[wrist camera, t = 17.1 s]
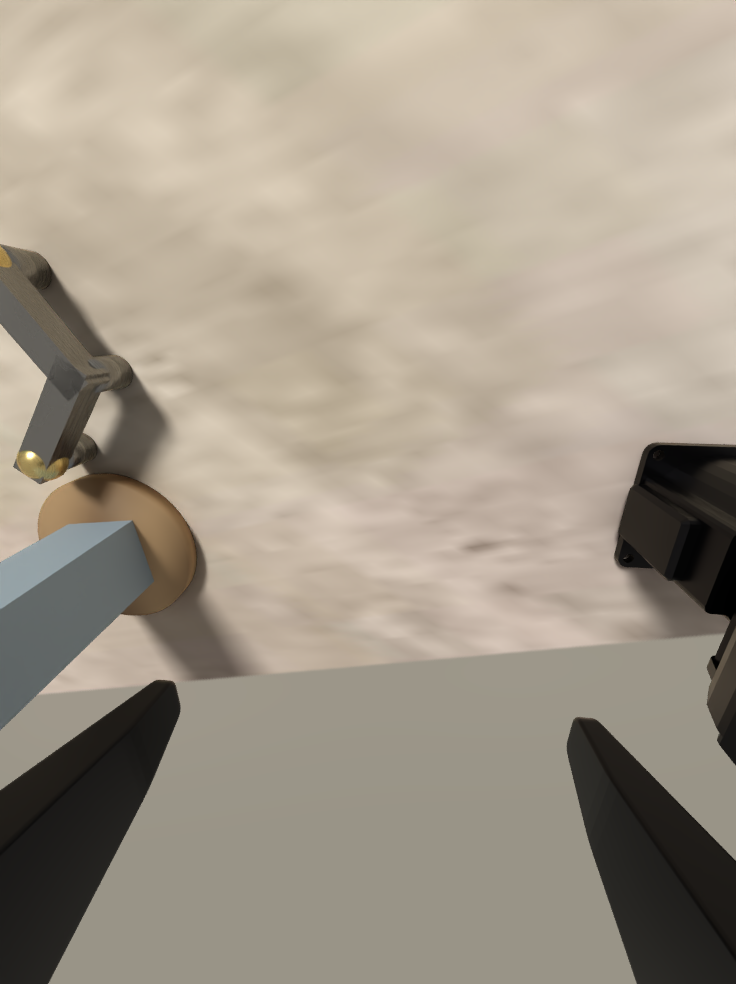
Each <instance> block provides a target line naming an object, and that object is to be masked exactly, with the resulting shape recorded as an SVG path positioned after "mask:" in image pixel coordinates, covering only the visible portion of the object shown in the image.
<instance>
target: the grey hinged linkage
mask: <svg viewBox="0 0 736 984" xmlns="http://www.w3.org/2000/svg"><path fill="white" fill-rule="evenodd" d="M50 282H51V270H50V267H49V265H48V263H47V262H46V260H45V259H44V258H43V257H42V256H41V255H40V254H38V253H36V252H34V251H29V250H24V249H20V248H15V247H11V246H6V245H1V244H0V324H1V325H2V326H3V327H4V328H5V330H6V331H7V332H8V333H9V334H10V335H11V336H12V338H13V339H14V340H15V341H16V342H17V343H18V344H19V346H20V347H21V348H22V349H23V350H24V351H25V352H26V354H27V355H28V356H29V357H30V358H31V359H32V361H33V362H34V363H35V364H36V365H37V366H38V367H39V369H40V370H41V371H42V372H43V373H44V374H45V375H46V377H47V380H46V383H45V385H44V388H43V391H42V393H41V396H40V398H39V401H38V404H37V406H36V409H35V411H34V414H33V417H32V419H31V422H30V424H29V427H28V430H27V432H26V435H25V437H24V440H23V442H22V445H21V448H20V450H19V452H18V454H17V458H16V461H15V463H14V466H13V467H14V468H16V469H17V470H19V471H20V472H22V473H23V474H25V475H26V476H28V477H30V478H31V479H33V480H34V481H36V482H37V483H39V484H42V483H44V482H47V481H49V480H53V479H56V478H58V477H60V476H62V475H64V473H65V472H66V470H67V469H70V468H73V467H75V466H78V465H80V464H83V463H85V462H88V461H90V460H92V459H94V458H95V456H96V454H97V448H96V445H95V443H94V441H93V440H92V439H91V438H90V437H89V436H88V435H86V434H84V433H83V430H84V428H85V426H86V424H87V422H88V419H89V417H90V415H91V413H92V411H93V408H94V406H95V404H96V402H97V399H98V397H99V395H100V393H101V392H104V391H110V390H115V389H120V388H125V387H127V386H128V385H129V384H130V383H131V381H132V377H133V375H132V370H131V367H130V365H129V364H128V363H127V361H126V360H124V359H123V358H122V357H120V356H117V355H106V356H93V357H92V356H91V355H90V354H89V353H88V351H87V350H86V349H85V348H84V347H83V345H82V344H81V343H80V342H79V340H78V339H77V338H76V337H75V336H74V334H73V333H72V332H71V331H70V330H69V328H68V327H67V326H66V325H65V323H64V322H63V321H62V320H61V319H60V317H59V316H58V315H57V314H56V313H55V311H54V310H53V309H52V308H51V307H50V305H49V304H48V303H47V302H46V300H45V299H44V298H43V297H42V296H41V294H40V293H39V292H38V291H37V290H42V289H45V288H47V287H48V286H49V284H50ZM36 289H37V290H36Z"/></svg>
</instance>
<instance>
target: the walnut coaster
mask: <svg viewBox="0 0 736 984" xmlns="http://www.w3.org/2000/svg"><path fill="white" fill-rule="evenodd" d="M129 520H132V521H133V523H134V526H135V529H136V532H137V534H138V537H139V540H140V543H141V546H142V548H143V551H144V554H145V557H146V559H147V562H148V565H149V568H150V571H151V573H152V576H153V579H154V582H153V583H152V584H151V585H150V586H149V587H148V588H147V589H146V590H145V591H144V592H143V593H142V594H141V595H139V596H138V597H137V598H136V599H135V600H134V601H133V602H132V603H131V604H130V605H129V606H128V607H127V608H126V609H125V610H124V611H123V612H122V613H121V614H124V615H148V614H152V613H156V612H158V611H161V610H163V609H165V608H167V607H168V606H170V605H171V604H172V603H173V602H175V601H176V599H177V598H178V597H179V596H180V595H181V594H182V593H183V591H184V590H185V589H186V588H187V587H188V586H189V584H190V582H191V581H192V579H193V576H194V573H195V569H196V563H197V554H196V547H195V543H194V539H193V536H192V534H191V531H190V529H189V527H188V525H187V524H186V522H185V520H184V519H183V517H182V516H181V514H180V513H179V512H178V511H177V510H176V508H175V507H174V506H173V505H172V504H171V503H170V502H169V501H168V500H167V499H166V498H165V497H163V496H162V495H161V494H159V493H158V492H157V491H155V490H154V489H152V488H150V487H149V486H147V485H145V484H143V483H141V482H139V481H137V480H134V479H131V478H129V477H125V476H121V475H117V474H107V473H102V474H92V475H87V476H84V477H81V478H78V479H76V480H74V481H71V482H69V483H67V484H65V485H63V486H61V487H59V488H57V489H56V490H55V491H54V492H52V493H51V494H50V495H49V497H48V498H47V499H46V500H45V502H44V504H43V505H42V508H41V511H40V513H39V519H38V535H39V540H41V539H43V538H45V537H46V536H48V535H50V534H52V533H54V532H55V531H57V530H59V529H61V528H62V527H64V526H66V525H68V524H80V523H96V522H113V521H129Z"/></svg>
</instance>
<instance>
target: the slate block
mask: <svg viewBox="0 0 736 984" xmlns="http://www.w3.org/2000/svg"><path fill="white" fill-rule="evenodd" d="M153 582H154V579H153V576H152V573H151V571H150V568H149V565H148V562H147V559H146V557H145V554H144V551H143V548H142V546H141V543H140V540H139V537H138V534H137V532H136V529H135V526H134V523H133V521H132V520H129V521H113V522H96V523H80V524H68V525H66V526H64V527H62V528H61V529H59V530H57V531H55V532H54V533H52V534H50V535H48V536H46V537H45V538H43V539H41V540H39V541H37V542H36V543H34V544H32V545H30V546H29V547H27V548H25V549H23V550H21V551H20V552H18V553H16V554H14V555H12V556H11V557H9V558H7V559H5V560H3V561H2V562H0V730H1V729H2V728H3V727H4V726H5V725H6V724H7V723H8V722H9V721H10V720H11V719H12V718H13V717H15V716H16V715H17V714H18V713H19V712H20V711H21V710H22V709H23V708H24V707H25V706H26V705H27V704H28V703H29V702H30V701H31V700H32V699H33V698H34V697H35V696H36V695H37V694H38V693H39V692H40V691H41V690H42V689H43V688H45V687H46V686H47V685H48V684H49V683H50V682H51V681H52V680H53V679H54V678H55V677H56V676H57V675H58V674H59V673H60V672H61V671H62V670H63V669H64V668H65V667H66V666H67V665H68V664H69V663H70V662H71V661H72V660H73V659H74V658H75V657H77V656H78V655H79V654H80V653H81V652H82V651H83V650H84V649H85V648H86V647H87V646H88V645H89V644H90V643H91V642H92V641H93V640H94V639H95V638H96V637H97V636H98V635H99V634H100V633H101V632H102V631H103V630H104V629H105V628H106V627H107V626H109V625H110V624H111V623H112V622H113V621H114V620H115V619H116V618H117V617H118V616H119V615H120V614H121V613H122V612H123V611H124V610H125V609H126V608H127V607H128V606H129V605H130V604H131V603H132V602H133V601H134V600H135V599H136V598H137V597H138V596H139V595H141V594H142V593H143V592H144V591H145V590H146V589H147V588H148V587H149V586H150V585H151V584H152V583H153Z"/></svg>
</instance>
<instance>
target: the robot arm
mask: <svg viewBox="0 0 736 984" xmlns="http://www.w3.org/2000/svg"><path fill="white" fill-rule="evenodd" d="M658 450H660V454H659V456H657V457H656V458H653V454H654V453H655V452H656V451H658ZM618 532H619V534H620V537H619V541H618V544H617V548H616V551H615V559H616V560H617V562H618V563H619V564H620V565H622V566H624V567H636V568H654V569H656V570H657V571H658V572H659V573H660V574H661V575H662V576H663V577H664V578H665V579H666V580H668V581H674V582H675V583H676V584H677V585H678V586H679V587H680V588H681V589H682V590H683V591H685V592H686V593H687V594H688V595H689V596H690V597H691V598H692V599H693V600H694V601H695V602H696V603H697V604H698V605H699V606H700V607H701V608H703V609H704V610H705V611H706V612H707V613H709V614H719V615H723V616H724V617H725V618H727V619H728V620H729V621H730V623H729V626H728V628H727V630H726V633H725V635H724V637H723V640H722V642H721V644H720V646H719V649H718V651H717V654H716V656H712V657H711V658H710V661H709V663H708V665H707V670H708V672H709V675H710V678H711V680H712V681H711V684H710V686H709V691H708V700H707V705H708V708H709V711H710V713H711V716H712V718H713V720H714V723H715V725H716V728H717V729H718V731H719V733H720V734H719V736H718V739H717V741H718V743H719V745H720V746H721V748H722V749H723V750H724V751H725V753H726V754H727V755H728V756H729V757H730V759H731V760H732V761H733V763H734V764H735V765H736V445H721V444H688V443H652V444H650V445H648V446H647V447H646V448H645V449H644V451H643V454H642V457H641V461H640V465H639V468H638V472H637V476H636V479H635V483H634V485H633V486H632V487H631V488H630V491H629V494H628V498H627V502H626V505H625V509H624V513H623V516H622V520H621V524H620V527H619V531H618ZM628 554H630V556H629V557H628V558H626V559H623V558H624V557H625V556H626V555H628ZM179 714H180V701H179V697H178V693H177V689H176V685H175V683H174V682H173V681H167V680H156V681H154V682H152V683H150V684H149V685H148V686H146V687H145V688H144V689H142V690H141V691H139V692H138V693H137V694H135V695H134V696H133V697H131V698H129V699H128V700H127V701H125V702H124V703H122V704H121V705H120V706H118V707H117V708H115V709H114V710H113V711H111V712H110V713H108V714H107V715H106V716H104V717H103V718H101V719H100V720H98V721H97V722H96V723H94V724H93V725H91V726H90V727H89V728H87V729H86V730H84V731H83V732H82V733H80V734H79V735H77V736H76V737H75V738H73V739H72V740H70V741H69V742H67V743H66V744H65V745H63V746H62V747H60V748H59V749H58V750H56V751H55V752H53V753H52V754H51V755H49V756H48V757H46V758H45V759H44V760H42V761H41V762H39V763H38V764H37V765H35V766H34V767H32V768H31V769H30V770H28V771H27V772H25V773H24V774H22V775H21V776H20V777H18V778H17V779H15V780H14V781H13V782H11V783H10V784H8V785H7V786H6V787H5V788H3V789H1V790H0V984H48V983H49V981H50V979H51V977H52V975H53V973H54V971H55V970H56V968H57V965H58V963H59V962H60V960H61V958H62V956H63V954H64V952H65V950H66V948H67V946H68V944H69V942H70V941H71V939H72V937H73V935H74V933H75V931H76V929H77V927H78V925H79V923H80V921H81V919H82V917H83V915H84V913H85V912H86V909H87V908H88V906H89V904H90V902H91V900H92V898H93V896H94V894H95V892H96V890H97V888H98V887H99V885H100V883H101V881H102V879H103V877H104V875H105V873H106V871H107V869H108V867H109V865H110V863H111V861H112V859H113V858H114V856H115V854H116V852H117V850H118V848H119V846H120V844H121V842H122V840H123V838H124V836H125V834H126V832H127V831H128V829H129V827H130V825H131V823H132V821H133V819H134V817H135V815H136V813H137V811H138V809H139V807H140V805H141V803H142V802H143V800H144V798H145V795H146V793H147V791H148V789H149V787H150V785H151V782H152V780H153V778H154V776H155V773H156V771H157V769H158V766H159V764H160V761H161V759H162V756H163V754H164V751H165V749H166V747H167V744H168V742H169V739H170V737H171V735H172V732H173V730H174V727H175V725H176V722H177V720H178V717H179ZM567 754H568V758H569V763H570V766H571V771H572V775H573V779H574V783H575V787H576V791H577V795H578V799H579V804H580V808H581V812H582V816H583V820H584V825H585V828H586V832H587V836H588V840H589V843H590V846H591V849H592V852H593V856H594V859H595V862H596V865H597V867H598V870H599V873H600V876H601V879H602V882H603V885H604V888H605V891H606V894H607V897H608V900H609V903H610V905H611V909H612V912H613V915H614V918H615V920H616V923H617V926H618V929H619V932H620V935H621V938H622V941H623V944H624V947H625V950H626V953H627V956H628V959H629V962H630V965H631V968H632V971H633V974H634V977H635V980H636V982H637V984H736V861H735V860H734V859H733V858H732V857H731V856H730V855H729V854H728V853H727V852H726V850H724V849H723V848H722V846H720V845H719V843H718V842H716V840H715V839H714V838H713V837H712V836H711V835H710V834H709V833H708V832H707V831H706V830H705V829H704V828H703V827H702V826H701V825H700V824H699V823H698V822H697V821H696V820H695V819H694V818H693V817H692V816H691V815H690V814H689V813H688V812H687V811H686V810H685V809H684V808H683V807H682V806H681V805H680V804H679V803H678V802H677V801H676V800H675V799H674V798H673V797H672V796H671V795H670V794H669V793H668V792H667V790H666V789H665V788H664V787H663V786H662V785H661V784H660V783H659V782H658V781H657V780H656V779H655V778H654V777H653V776H652V775H651V774H650V773H649V772H648V771H646V769H645V768H644V767H643V766H642V765H641V764H640V763H639V762H638V761H637V760H636V759H635V758H634V757H633V756H632V755H631V754H630V753H629V752H628V751H627V750H626V749H625V748H624V747H623V746H622V745H621V744H620V743H619V742H618V741H617V740H616V739H615V738H614V737H613V736H612V735H611V733H609V731H608V730H607V729H606V728H605V727H604V726H603V725H602V724H601V723H599V722H598V721H597V720H595V719H593V718H583V717H577V718H575V719H574V720H573V723H572V727H571V730H570V734H569V738H568V741H567Z"/></svg>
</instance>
